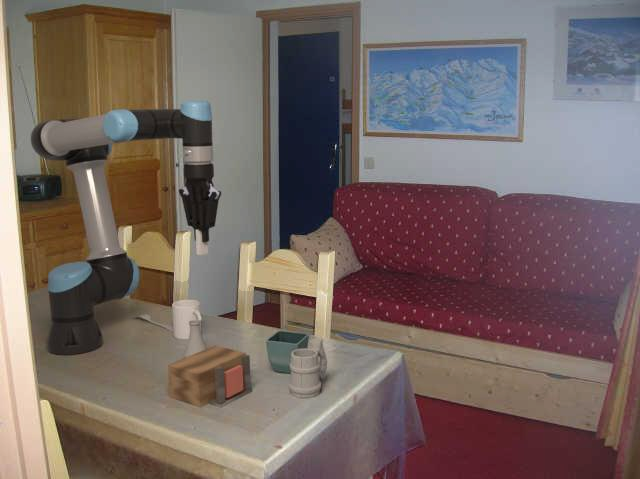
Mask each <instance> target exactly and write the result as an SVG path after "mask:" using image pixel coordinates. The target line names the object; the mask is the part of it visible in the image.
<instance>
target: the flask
mask: <svg viewBox="0 0 640 479" xmlns="http://www.w3.org/2000/svg"><path fill="white" fill-rule="evenodd" d="M189 325H190V335H189V339H187V343H186V346H185V349H184V353H183V357H182V359H184V358H186V357H188V356H191V355H193V354H196V353H198V352H201V351H203V350H205V349H208V347H207V344H206V342H205V340H204V338H203V335H202V330H201V331H200V320H191V321H189Z"/></svg>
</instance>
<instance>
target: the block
mask: <svg viewBox="0 0 640 479" xmlns="http://www.w3.org/2000/svg"><path fill="white" fill-rule="evenodd" d="M238 365H241V366H243V390H242V391H240V392H238V393H236V394H234V395H232V396H230V397H228V398H226V397H225V385H224V372H225V371H228V370H230V369H232V368H234V367H236V366H238ZM167 370H168V371H167V374H168V389H169V390H168V391H169V398H171V399H173V400H177V401H180V402H183V403H186V404H188V405H189V404H190V405H193V406H196V407H199V408H202V407H204V406H206V405H208V404H209V405H212V406H215V407H218V408H223V407H225V406H227V405H229V404H230V403H232V402H234V401H236V400H238V399H240V398H242V397H245V396H246V395H248V394H250V393H252V392H253V388H251V386H252V385H251V358H250V355H249V354H246V352H243V351H241V350H240V351H239V350H235V349H231V348H227V347H224V346H221V345H220V346H219V345H212V346H210V347H207V349H205V350H203V351H201V352H198V353H196V354H193V355H191V356H188V357H186V358H184V359H183V358H181V359H179V360H177V361H174V362H172V363H169V364H168V365H167Z"/></svg>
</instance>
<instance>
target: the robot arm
mask: <svg viewBox="0 0 640 479" xmlns="http://www.w3.org/2000/svg"><path fill="white" fill-rule="evenodd" d="M164 139H166V140H167V139H168V140H169V139H182V156H183V157H182V158H183V162H184V164H183V177H184V179H185V180H186V182H185V186H184V187H183V188H179V189H178V192H179V195H180V197H181V201H182V204H183V210H184V213H185V218H186V224H187V225H188V227H192V229H193V233H194V238H193V239H194V241H195V246H196V255H197V256H203V255H207V254H209V244H208V243H209V241H210V229H211V228H214V227H215V226H216V221H217V220H216V219H217V214H218V207H219V206H218V205H219V200H220V198H221V196H222V191H221V190H217V189H216V188H215V187H214V186H215V184H214V183H213V178H214V177H215V172H214V171H215V168H214V164H213V163H212V162H213V161H214V144H213V115H212V108H211V103H210V102H209V101H207V100H184V101H183V100H182V101H181V103H180V108H153V109H151V108H149V109H124V108H121V109H120V108H119V109H114V110H113V109H112V110H110V111H108V112H107V113H105V114H100V115H95V116H89V117H83V118H64V119H62V118H61V119H57V118H55V119H48V120H44V121H42V122H40V123H38V124H36V125H35V127H34V128H33V129H32V131H31V134H30V143H31V147H32V149H33V150H34V152H35V153H36V154H37V155H38V156H39V157H41V158H43V159H45V160H49V161H55V162H57V161H60V162H61V161H65V164H66V168H67V169H68V170H69V171H71V172H72V173H73V176H74V180H75V186H76V191H77V194H78V195H77V196H78V200H79V205H80V209H81V214H82V219H83V224H84V228H85V229H84V230H85V232H86V233H85V234H86V237H87V243H88V248H89V252H90V253H89V254H88V256H87V257H86V260H85V261H75V262H67V263H64V264H60V265H59V266H56V267H54V268H53V269H51V271H49V273H48V275H47V290H48V296H49V307H50V317H51V318H50V320H51V323H50V327H49V331H48V335H47V339H46V350H47V352H49V353H51V354H55V355H62V356H65V355H68V356H69V355H79V354H84V353H88V352H91V351H94V350H97V349H99V348H100V347H101V346H102V345H103V344H104V339H103V338H104V337H103V333H102V331H101V329H100V326H99V324H98V321H97V319H96V317H95V314H96V313H95V306H97V305H102V304H104V303H108V302H111V301H116V300H122V299H124V298H126V297H128V296H129V297H130V295H132V294H134V292H136V290H137V287H138V286H139V284H140V269H139V266H138V264H137V263H136V262H135V260H134V259H133V258H132V257H128V254H127V251H126V250H125V249H123V248H122V247H121V244H120V241H119V240H120V239H119V235H118V230H117V226H116V221H115V220H116V219H115V216H114V211H113V207H112V201H111V196H110V192H109V187H108V183H107V182H108V181H107V176H106V172H105V166H106V165H107V163H108V158H107V157H108V156H109V155H110V154H111V152H112V148H113V145H114V144H119V143H126V142H133V141H146V140H147V141H148V140H149V141H150V140H164Z"/></svg>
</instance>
